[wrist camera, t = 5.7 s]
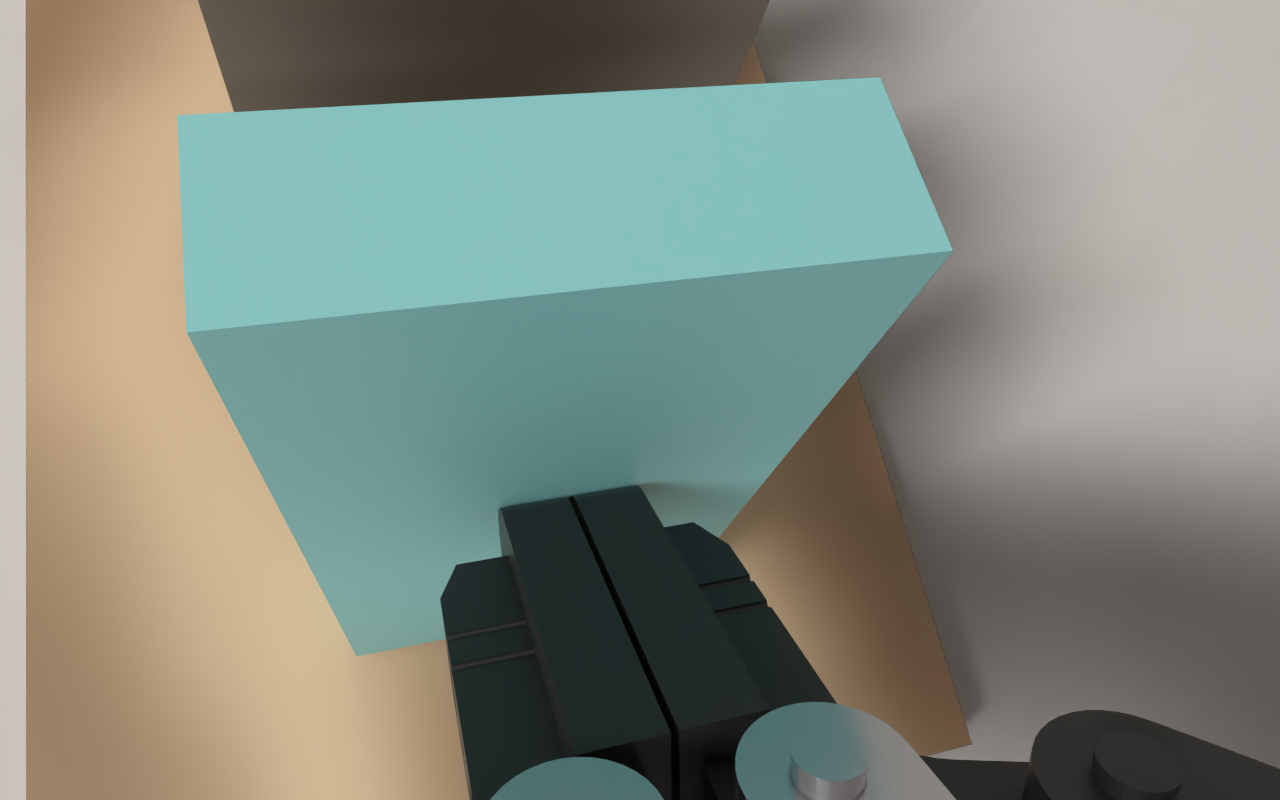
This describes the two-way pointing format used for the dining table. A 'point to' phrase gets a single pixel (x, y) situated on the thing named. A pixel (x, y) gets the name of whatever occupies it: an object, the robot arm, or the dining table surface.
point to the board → (251, 521)
